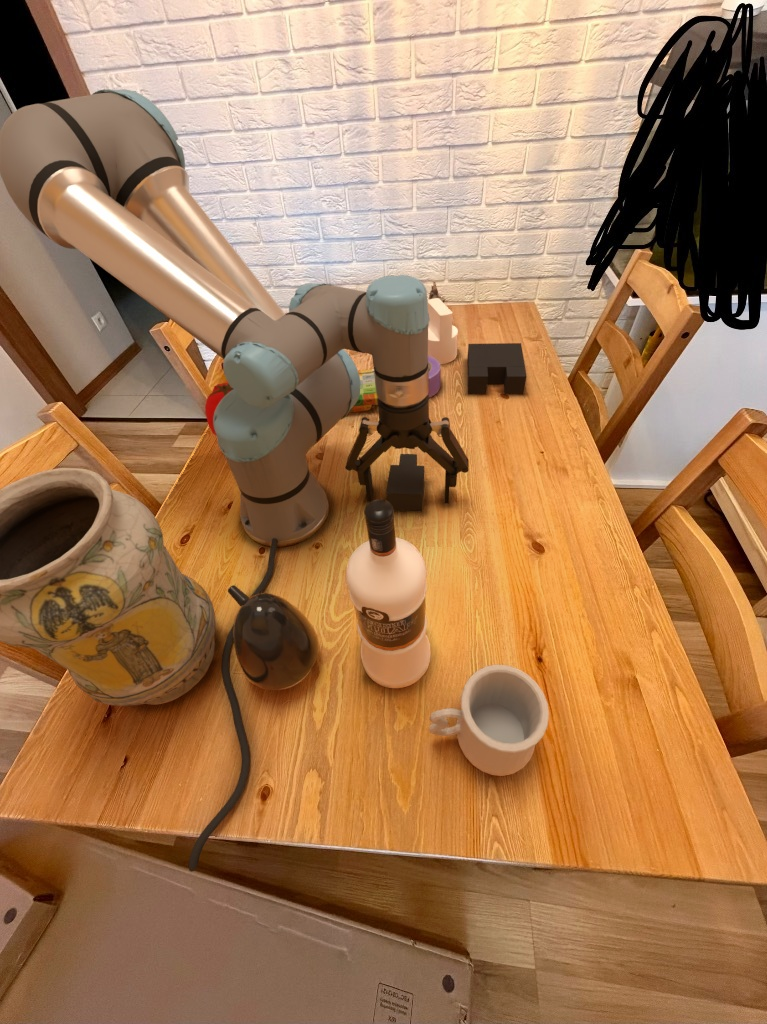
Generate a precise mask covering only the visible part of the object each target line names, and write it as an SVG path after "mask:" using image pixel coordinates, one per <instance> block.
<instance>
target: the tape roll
mask: <svg viewBox="0 0 767 1024" xmlns="http://www.w3.org/2000/svg"><path fill="white" fill-rule="evenodd" d="M428 366H429V392H428V395H429V399H430V398H432V397H434V396H435V395H436V394H437V393H438V392H439V391H440V389H441V364H440V363H439V362H438V361H437V360H436V359H435V358H433V357H431V356H428Z"/></svg>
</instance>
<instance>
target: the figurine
mask: <svg viewBox="0 0 767 1024" xmlns="http://www.w3.org/2000/svg"><path fill="white" fill-rule="evenodd" d="M432 283H433V284H432V285H431V290H430V291H429V297H428V300H430V299H435V298H439V299H440V300H441V301H442V302H443V303H444V304H445V302H446V298H445V297H444V296H441V295H440V294H439V290H438V287H437V283H436V280H434V281H433V282H432Z"/></svg>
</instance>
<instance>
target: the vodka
mask: <svg viewBox="0 0 767 1024" xmlns="http://www.w3.org/2000/svg"><path fill="white" fill-rule="evenodd" d="M363 512H364V517H365V523H366V530H367V536H368V537H367V538H368V540H367V541H364V542H363V543H361V544H360V545H359V546H357V548H356V549H355V550H354V551H353V552H352V554H351V556H350V557H349V558H348V561H347V566H346V570H345V581H346V586H347V589H348V593H349V599H350V600H351V603H352V604H353V608H354V612H355V616H356V628H357V632H358V635H359V637H360V639H361V644H360V659H361V663H362V667H363V670H364V671H365V673H366V674H367V676H368V677H369V678H370V679H371V680H372V681H374V683H376V684H378V685H379V686H382V687H385V688H389V689H402V688H406V687H409V686H412V685H413V684H415V683H416V682H418V681H419V680H421V679H422V677H423V676H424V675H425V674H426V672H427V671H428V668H429V666H430V663H431V643H430V640H429V637H428V635H427V634H426V633H427V629H428V617H427V613H426V595H427V591H428V590H427V589H428V585H427V584H428V583H427V577H428V569H427V564H426V561H425V559H424V557H423V555H422V554H421V552H420V550H419V549H418V548H417V547H416V546H415V545H413V544H412V543H411V542H409V540H406V539H403V538H401V537H397V536H396V525H395V514H394V513H395V511H394V509H393V506H392V505H391V503H389V502H388V501H387V499H386V500H385V499H378V498H377V499H374V500H372V501H369V502H368V503H367V504H366V505H365V507H364V510H363Z"/></svg>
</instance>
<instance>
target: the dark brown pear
mask: <svg viewBox="0 0 767 1024" xmlns="http://www.w3.org/2000/svg"><path fill="white" fill-rule="evenodd" d="M227 593H228V594H229V595H230V596H231V597H232V599H233V600H234V601H235V602H236V603H237V604H238V606H240V607H239V609H238V610H237V612H236V614H235V617H234V622H233V624H234V640H233V644H234V651H235V655H236V659H237V662H238V665H239V667H240V669H241V672H242V673H243V675H244V676H245V678H246V680H248V682H250V683H251V684H252V685H254V686H255V687H257V688H260V689H263V690H268V691H281V690H286V689H290V688H292V687H294V686H296V685H298V684H299V683H301V682H302V681H303V680H304V679H305V678H306V677H307V676H308V675H309V674H310V672H311V671H312V669H313V667H314V665H315V663H316V661H317V658H318V655H319V647H320V644H319V643H320V642H319V638H318V635H317V632H316V629H315V627H314V626H313V625H312V623H311V622H310V620H309V619H308V617H306V615H305V614H304V613H303V612H302V611H301V610H300V609H298V607H296V606H295V605H294V604H293V603H291V602H290V601H289V600H287V599H285V598H284V597H282V596H279V595H277V594H273V593H269V592H266V593H265V592H262V593H261V594H257V595H254V596H252V597H250V596H248V595H247V594H246V593H245V592H244V591H242V590H241V589H240V588H239V587H238V586H236V585H231V586H229V587H228V589H227Z"/></svg>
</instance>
